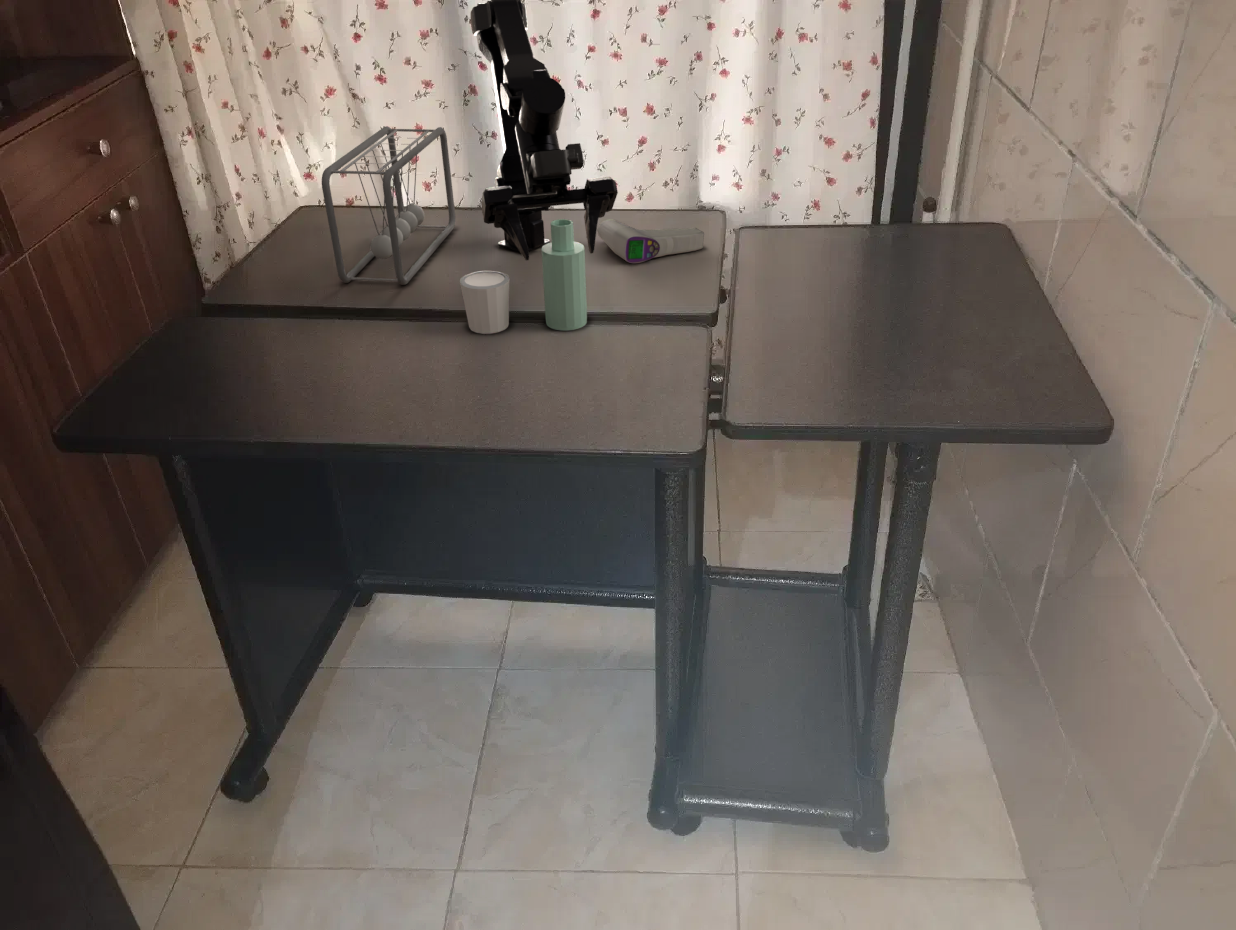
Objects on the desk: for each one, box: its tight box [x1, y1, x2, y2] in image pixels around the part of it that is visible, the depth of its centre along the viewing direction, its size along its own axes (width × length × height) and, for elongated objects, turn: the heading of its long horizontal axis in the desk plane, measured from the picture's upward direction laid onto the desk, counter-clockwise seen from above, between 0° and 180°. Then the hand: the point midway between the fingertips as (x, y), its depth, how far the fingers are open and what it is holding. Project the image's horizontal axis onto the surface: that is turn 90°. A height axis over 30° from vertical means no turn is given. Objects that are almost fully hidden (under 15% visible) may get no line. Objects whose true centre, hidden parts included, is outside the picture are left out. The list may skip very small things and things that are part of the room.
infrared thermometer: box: [596, 219, 705, 264], centre depth 161 cm, size 5×12×15 cm
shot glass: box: [459, 270, 511, 335], centre depth 134 cm, size 7×7×7 cm
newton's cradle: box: [321, 125, 456, 286], centre depth 156 cm, size 30×10×18 cm, turn 172°
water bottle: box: [540, 218, 588, 332], centre depth 132 cm, size 6×6×14 cm
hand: (560, 255), depth 133 cm, fingers open, 9 cm apart
